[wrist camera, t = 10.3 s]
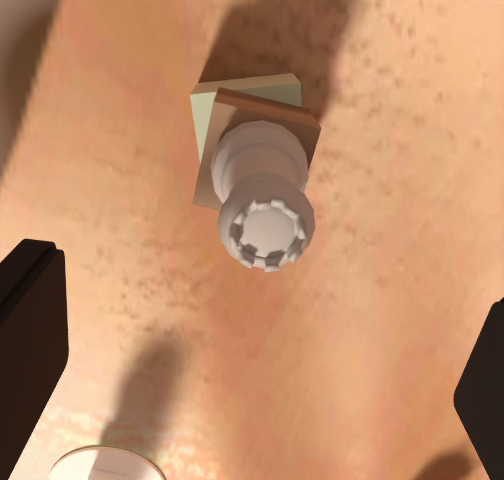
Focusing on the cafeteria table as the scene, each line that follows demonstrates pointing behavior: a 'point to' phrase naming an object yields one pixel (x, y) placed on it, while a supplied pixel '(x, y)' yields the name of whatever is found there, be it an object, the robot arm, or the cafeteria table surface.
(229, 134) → the rook chess piece
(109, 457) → the panda figurine
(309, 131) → the top block
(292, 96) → the base block
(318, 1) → the cafeteria table surface
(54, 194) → the cafeteria table surface
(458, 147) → the cafeteria table surface
